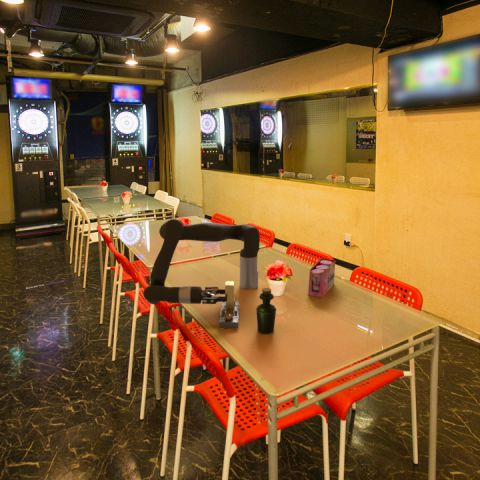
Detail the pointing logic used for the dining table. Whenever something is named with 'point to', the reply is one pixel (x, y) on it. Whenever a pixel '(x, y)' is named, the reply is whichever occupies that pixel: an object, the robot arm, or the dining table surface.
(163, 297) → the robot arm
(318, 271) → the gum box
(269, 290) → the potion bottle
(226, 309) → the wood grain block
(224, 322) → the hand plane
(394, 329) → the dining table surface
